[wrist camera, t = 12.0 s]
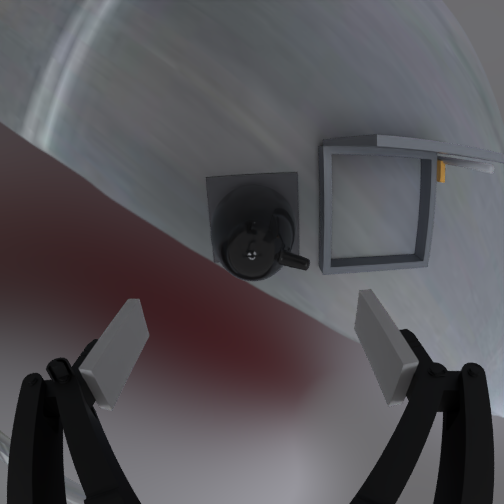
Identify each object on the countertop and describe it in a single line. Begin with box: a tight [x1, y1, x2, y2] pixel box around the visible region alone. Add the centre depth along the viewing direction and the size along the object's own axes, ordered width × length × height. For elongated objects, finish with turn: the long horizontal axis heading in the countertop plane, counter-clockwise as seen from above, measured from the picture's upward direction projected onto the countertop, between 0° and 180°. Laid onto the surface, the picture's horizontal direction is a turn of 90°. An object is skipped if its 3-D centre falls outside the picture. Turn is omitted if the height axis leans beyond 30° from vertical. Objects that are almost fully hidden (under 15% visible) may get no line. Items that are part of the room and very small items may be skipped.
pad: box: [206, 172, 299, 262], centre depth 39 cm, size 12×12×1 cm
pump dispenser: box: [211, 184, 310, 281], centre depth 32 cm, size 10×10×15 cm
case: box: [318, 135, 504, 275], centre depth 29 cm, size 18×18×20 cm
